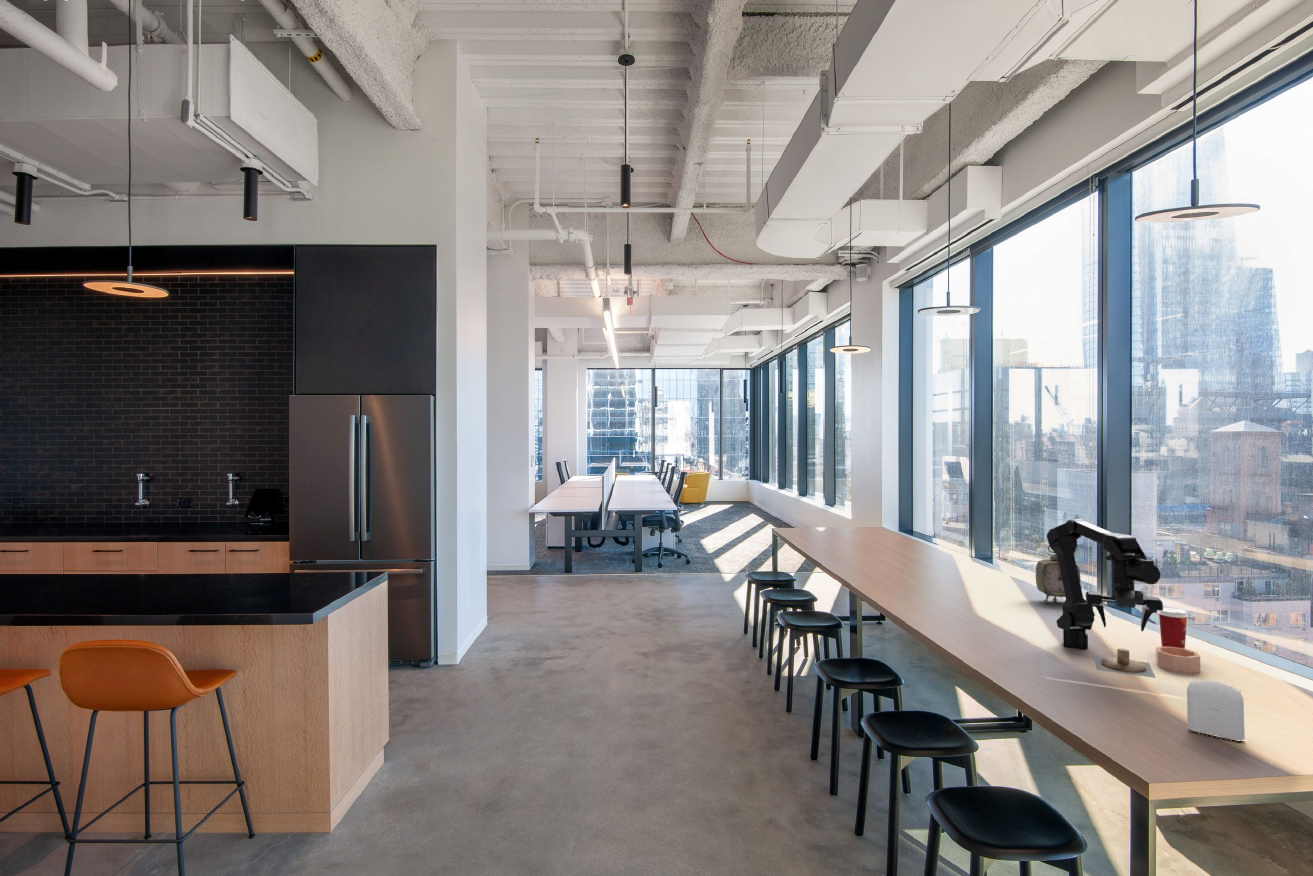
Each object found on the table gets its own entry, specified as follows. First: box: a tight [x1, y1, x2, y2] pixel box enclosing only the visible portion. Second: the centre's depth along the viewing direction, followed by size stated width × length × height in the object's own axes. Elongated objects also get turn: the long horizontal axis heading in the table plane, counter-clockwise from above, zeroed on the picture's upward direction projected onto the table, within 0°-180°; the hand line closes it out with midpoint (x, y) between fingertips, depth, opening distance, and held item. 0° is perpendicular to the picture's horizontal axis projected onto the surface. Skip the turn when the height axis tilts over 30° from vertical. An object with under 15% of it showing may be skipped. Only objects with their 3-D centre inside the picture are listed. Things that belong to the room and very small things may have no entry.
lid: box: [1101, 648, 1146, 672], centre depth 200 cm, size 11×11×5 cm
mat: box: [1094, 655, 1156, 678], centre depth 200 cm, size 14×14×1 cm
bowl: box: [1155, 646, 1201, 674], centre depth 199 cm, size 10×10×5 cm
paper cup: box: [1157, 607, 1189, 649], centre depth 213 cm, size 8×8×14 cm
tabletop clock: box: [1035, 545, 1081, 604], centre depth 279 cm, size 14×9×25 cm, turn 81°
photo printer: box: [1186, 680, 1246, 741], centre depth 155 cm, size 10×4×12 cm, turn 47°
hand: (1123, 629), depth 200 cm, fingers open, 9 cm apart
